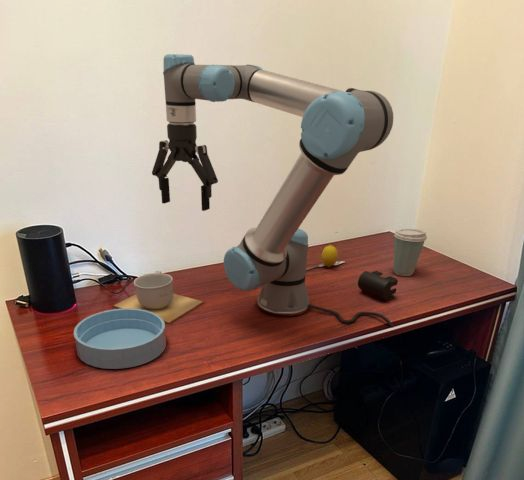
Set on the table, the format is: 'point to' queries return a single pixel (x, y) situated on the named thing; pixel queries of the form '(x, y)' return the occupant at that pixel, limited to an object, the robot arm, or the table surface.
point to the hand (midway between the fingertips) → (185, 206)
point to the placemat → (168, 313)
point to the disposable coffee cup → (407, 250)
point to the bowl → (120, 338)
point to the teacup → (154, 290)
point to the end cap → (377, 285)
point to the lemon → (329, 255)
